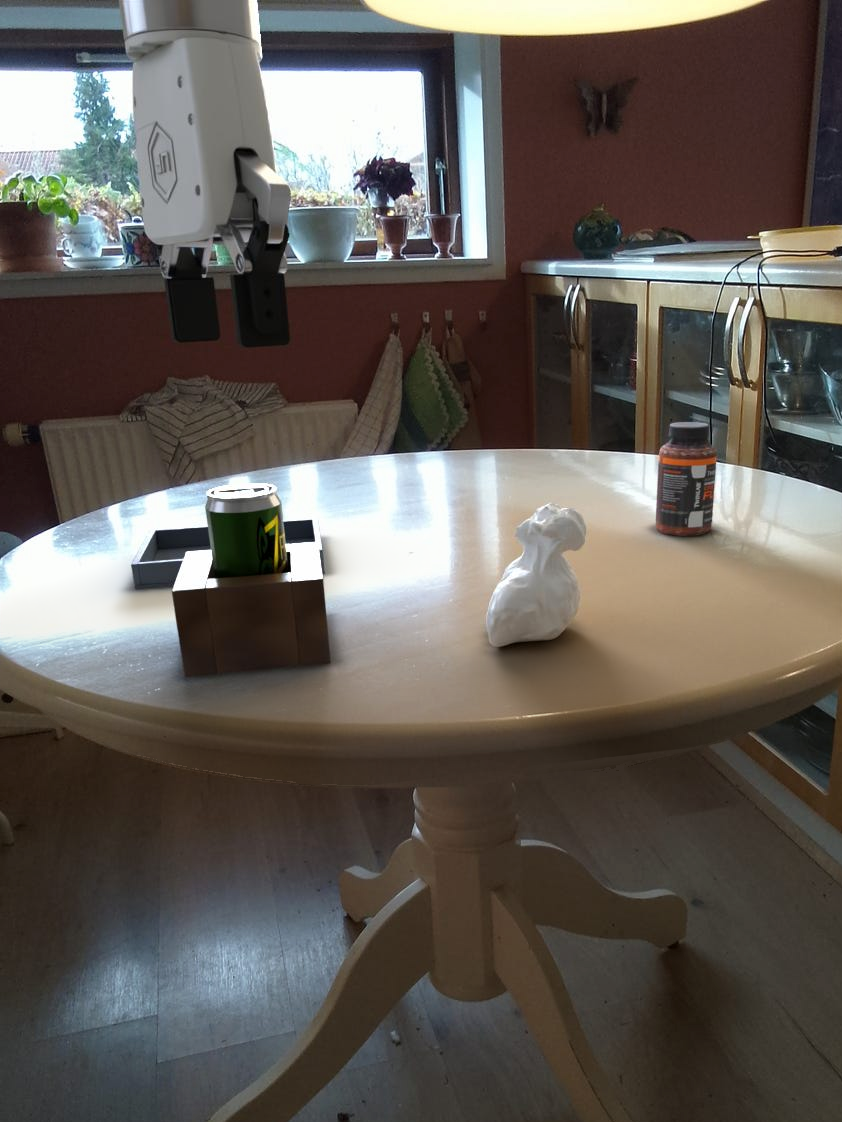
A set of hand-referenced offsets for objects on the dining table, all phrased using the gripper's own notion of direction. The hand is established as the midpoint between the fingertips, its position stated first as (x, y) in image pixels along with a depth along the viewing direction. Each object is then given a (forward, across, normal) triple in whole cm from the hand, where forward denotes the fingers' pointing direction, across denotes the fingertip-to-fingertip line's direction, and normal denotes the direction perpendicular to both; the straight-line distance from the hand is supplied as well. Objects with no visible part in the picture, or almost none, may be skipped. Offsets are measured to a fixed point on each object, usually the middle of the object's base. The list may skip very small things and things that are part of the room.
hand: (228, 343), depth 59 cm
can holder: (+22, -4, +2) cm, 23 cm away
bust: (+22, +9, +19) cm, 30 cm away
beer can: (+22, -4, +2) cm, 23 cm away
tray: (+22, -27, +10) cm, 36 cm away
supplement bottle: (+22, -4, +51) cm, 56 cm away
